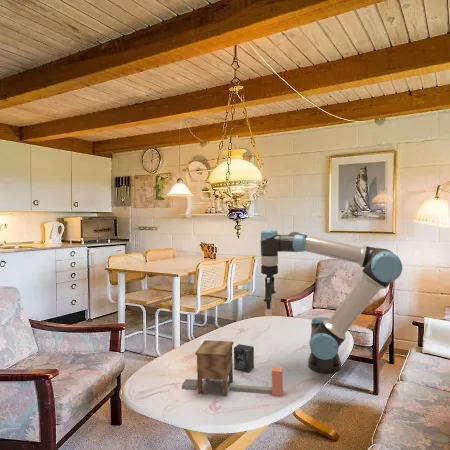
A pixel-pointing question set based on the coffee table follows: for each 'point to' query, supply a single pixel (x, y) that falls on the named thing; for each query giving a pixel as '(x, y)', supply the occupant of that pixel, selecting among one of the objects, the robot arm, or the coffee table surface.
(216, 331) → the coffee table surface
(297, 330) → the coffee table surface
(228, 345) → the cabinet
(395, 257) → the robot arm
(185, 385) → the token
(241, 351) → the box
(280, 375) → the orange-headed mallet
